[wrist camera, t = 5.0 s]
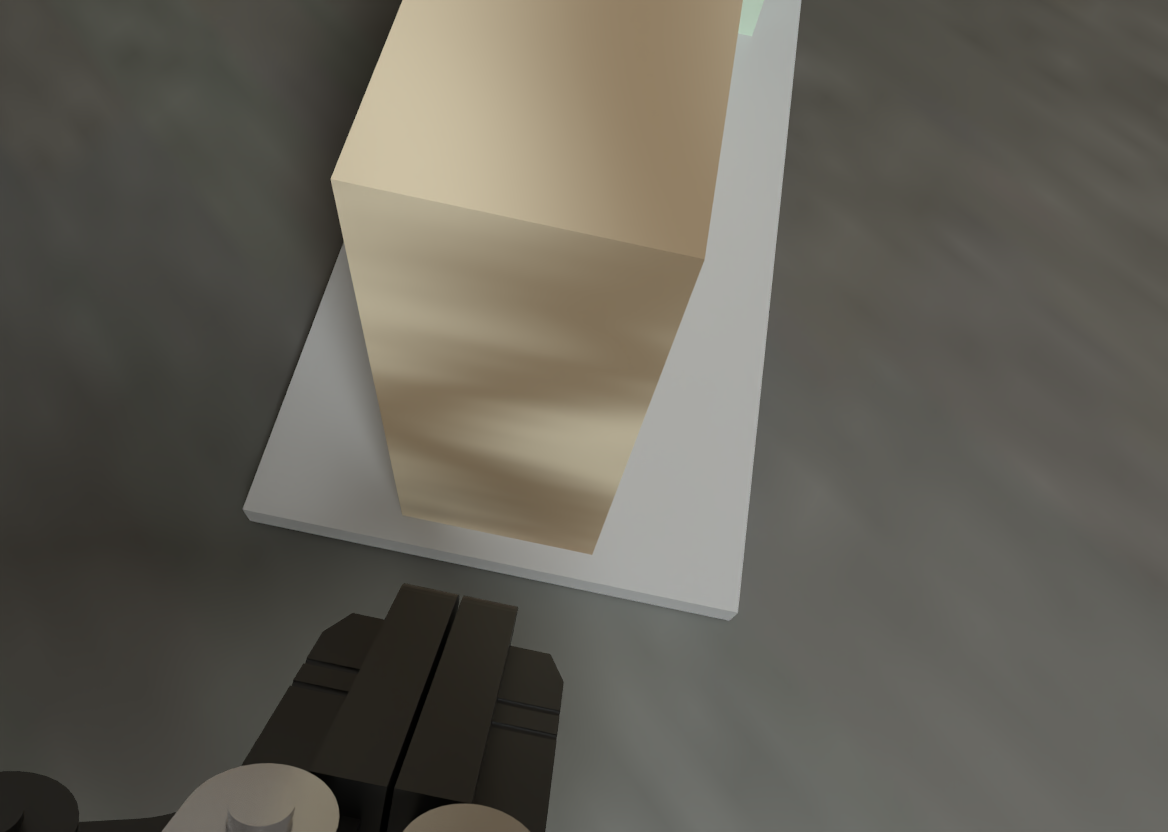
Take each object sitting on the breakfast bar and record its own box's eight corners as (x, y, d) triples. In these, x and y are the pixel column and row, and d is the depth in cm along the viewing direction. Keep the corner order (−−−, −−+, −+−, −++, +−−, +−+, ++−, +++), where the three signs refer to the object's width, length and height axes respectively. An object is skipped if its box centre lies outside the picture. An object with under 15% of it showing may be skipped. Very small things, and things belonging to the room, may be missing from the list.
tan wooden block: (402, 515, 16) (330, 179, 8) (536, 53, 22) (572, -421, 14) (592, 555, 16) (704, 259, 8) (678, 84, 22) (797, -369, 14)
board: (249, 520, 17) (242, 509, 16) (508, -175, 26) (509, -196, 26) (729, 620, 17) (737, 612, 16) (807, -109, 27) (814, -129, 26)
